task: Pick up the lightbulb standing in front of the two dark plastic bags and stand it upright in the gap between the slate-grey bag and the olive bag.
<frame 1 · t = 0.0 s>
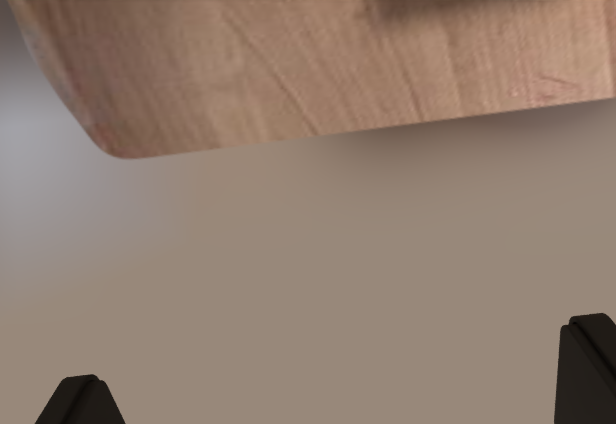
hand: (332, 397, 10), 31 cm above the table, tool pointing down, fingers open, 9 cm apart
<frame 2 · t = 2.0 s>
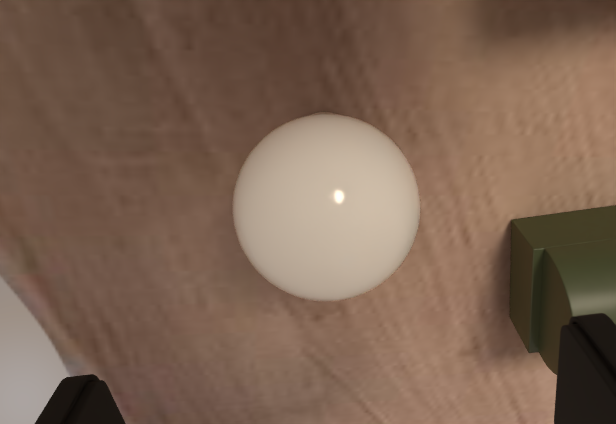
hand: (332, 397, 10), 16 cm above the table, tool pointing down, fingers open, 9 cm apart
lightbulb: (323, 133, 24), on the table
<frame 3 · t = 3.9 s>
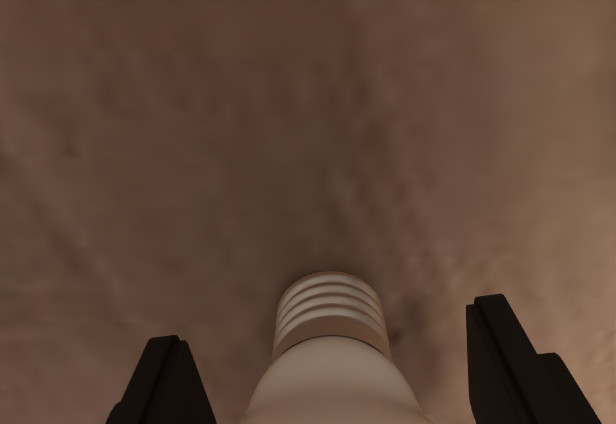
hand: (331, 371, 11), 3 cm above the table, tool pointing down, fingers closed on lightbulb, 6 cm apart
lightbulb: (329, 294, 13), on the table, touching gripper
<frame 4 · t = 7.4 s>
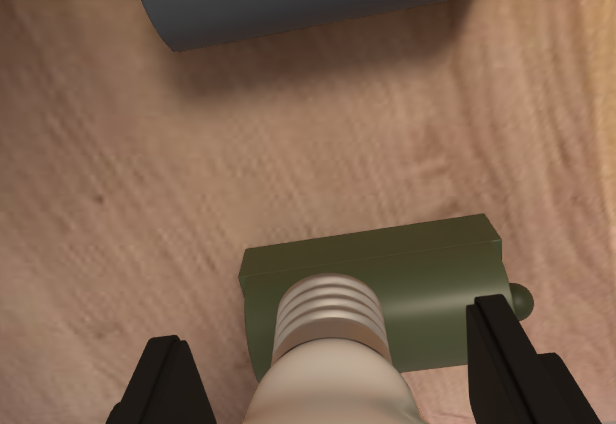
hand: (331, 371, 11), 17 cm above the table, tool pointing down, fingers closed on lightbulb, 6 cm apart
olive bag: (369, 277, 30), on the table
lightbulb: (329, 296, 13), point 14 cm above the table, touching gripper
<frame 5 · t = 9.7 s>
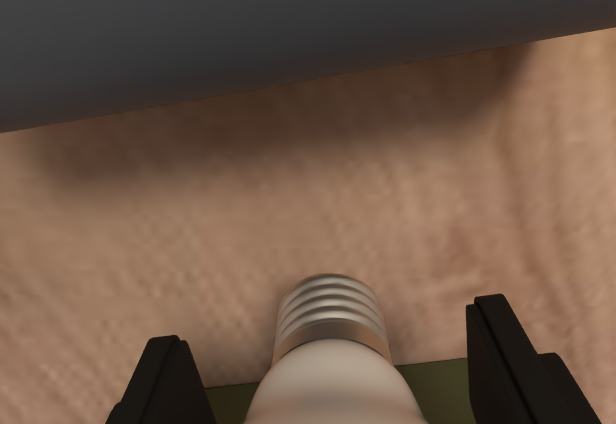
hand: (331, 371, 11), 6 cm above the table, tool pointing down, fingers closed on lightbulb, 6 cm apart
lightbulb: (329, 296, 13), point 3 cm above the table, touching gripper
when the fingers open (3 cm above the table, at t = 11.1 s): lightbulb stays where it is, on the table.
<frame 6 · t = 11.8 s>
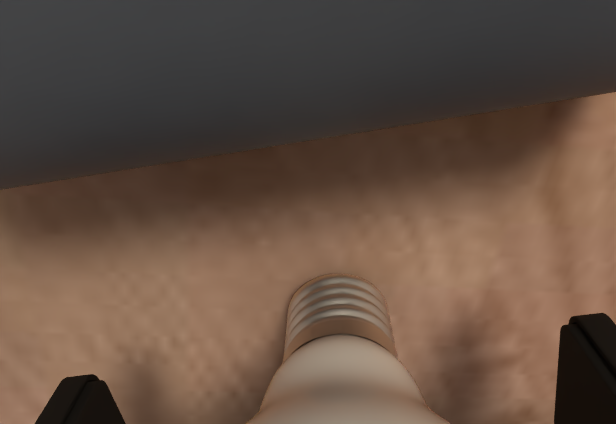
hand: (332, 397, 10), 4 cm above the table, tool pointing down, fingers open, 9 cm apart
lightbulb: (336, 296, 14), on the table
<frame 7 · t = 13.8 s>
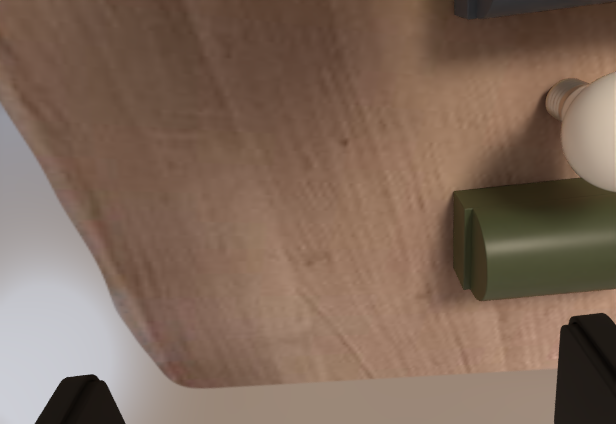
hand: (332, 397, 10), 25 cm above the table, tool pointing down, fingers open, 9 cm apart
olive bag: (548, 221, 36), on the table
lightbulb: (560, 96, 33), on the table
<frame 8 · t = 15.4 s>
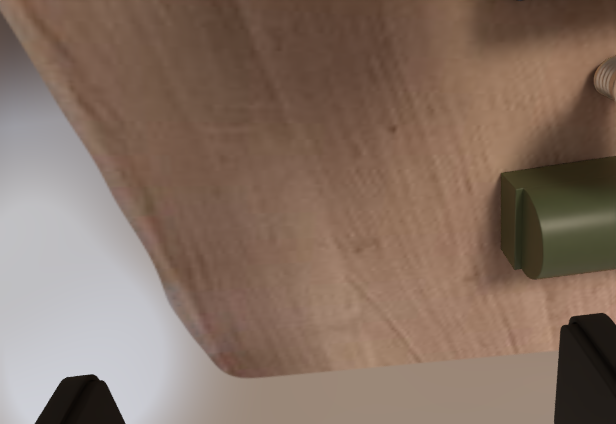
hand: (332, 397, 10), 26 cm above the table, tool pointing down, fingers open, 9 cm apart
olive bag: (596, 198, 37), on the table
lightbulb: (608, 73, 33), on the table
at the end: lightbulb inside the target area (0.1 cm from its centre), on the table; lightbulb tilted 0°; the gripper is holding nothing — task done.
